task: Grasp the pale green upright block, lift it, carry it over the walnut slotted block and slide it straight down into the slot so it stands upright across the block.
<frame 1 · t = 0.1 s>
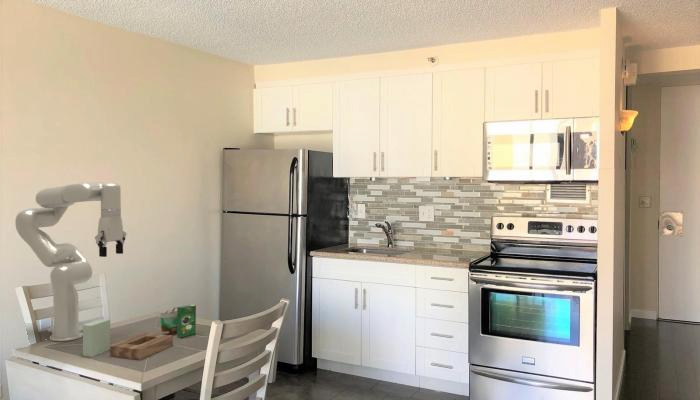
hand: (111, 255, 233), 37 cm above the table, tool pointing down, fingers open, 9 cm apart
food container: (173, 333, 251), on the table
slotted block: (142, 350, 225), on the table
pale green upright block: (96, 352, 222), on the table
coffee box: (186, 336, 247), on the table
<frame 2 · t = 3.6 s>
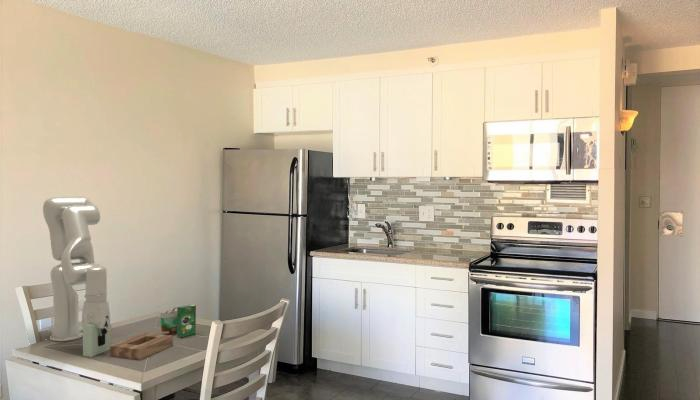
hand: (96, 344, 222), 3 cm above the table, tool pointing down, fingers closed on pale green upright block, 4 cm apart
pale green upright block: (96, 352, 222), on the table, touching gripper
everything else where it was.
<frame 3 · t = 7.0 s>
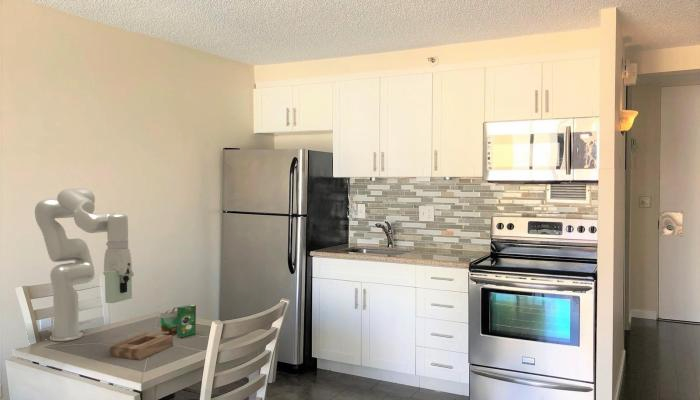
hand: (118, 291, 223), 24 cm above the table, tool pointing down, fingers closed on pale green upright block, 4 cm apart
pale green upright block: (118, 300, 223), point 20 cm above the table, touching gripper
everything else where it was.
when the fingers open (5 cm above the table, at t = 10.8 s): pale green upright block drops 1 cm, resting in slotted block.
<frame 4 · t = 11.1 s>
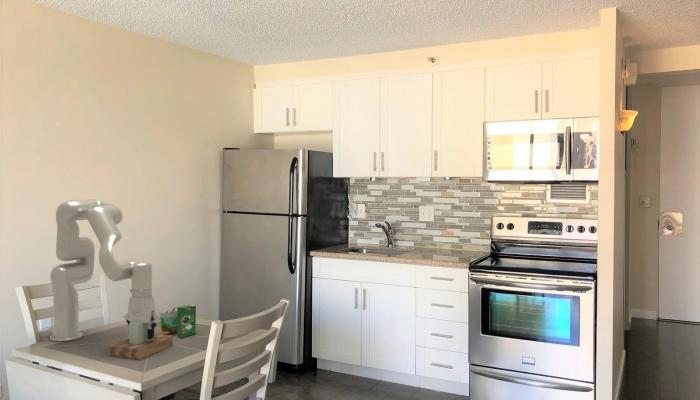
hand: (142, 337, 225), 5 cm above the table, tool pointing down, fingers open, 7 cm apart
pale green upright block: (142, 350, 225), resting in slotted block
everything else where it was.
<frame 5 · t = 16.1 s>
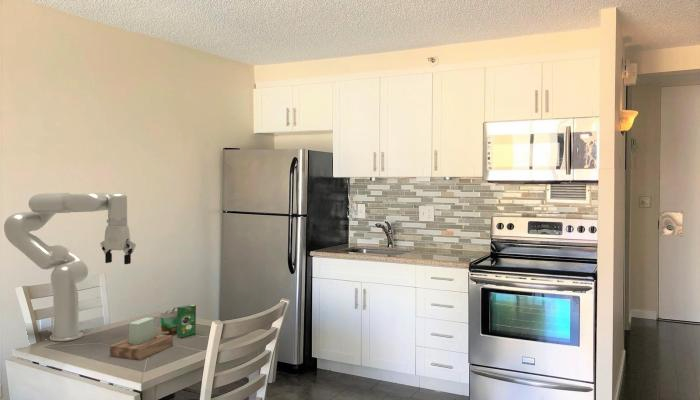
hand: (118, 263, 240), 32 cm above the table, tool pointing down, fingers open, 9 cm apart
nothing on the table moved.
at the end: pale green upright block 0.1 cm off-centre on the slotted block, point 0.0 cm above the slotted block's base; pale green upright block tilted 0°; the gripper is holding nothing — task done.
